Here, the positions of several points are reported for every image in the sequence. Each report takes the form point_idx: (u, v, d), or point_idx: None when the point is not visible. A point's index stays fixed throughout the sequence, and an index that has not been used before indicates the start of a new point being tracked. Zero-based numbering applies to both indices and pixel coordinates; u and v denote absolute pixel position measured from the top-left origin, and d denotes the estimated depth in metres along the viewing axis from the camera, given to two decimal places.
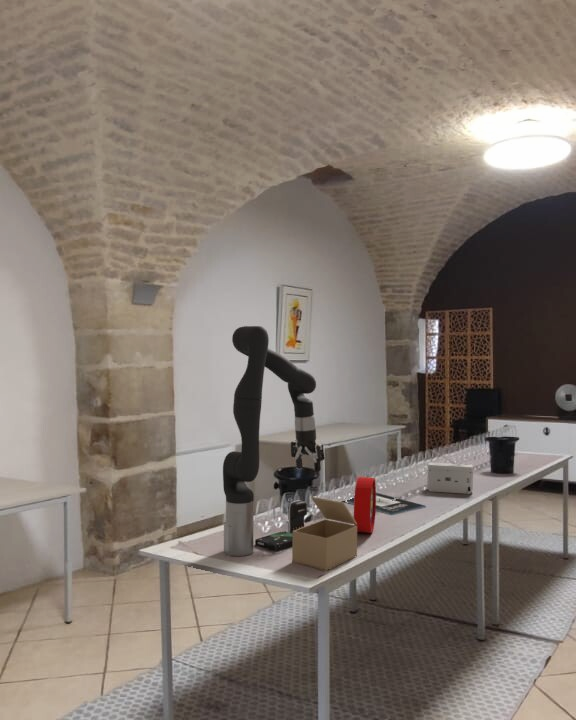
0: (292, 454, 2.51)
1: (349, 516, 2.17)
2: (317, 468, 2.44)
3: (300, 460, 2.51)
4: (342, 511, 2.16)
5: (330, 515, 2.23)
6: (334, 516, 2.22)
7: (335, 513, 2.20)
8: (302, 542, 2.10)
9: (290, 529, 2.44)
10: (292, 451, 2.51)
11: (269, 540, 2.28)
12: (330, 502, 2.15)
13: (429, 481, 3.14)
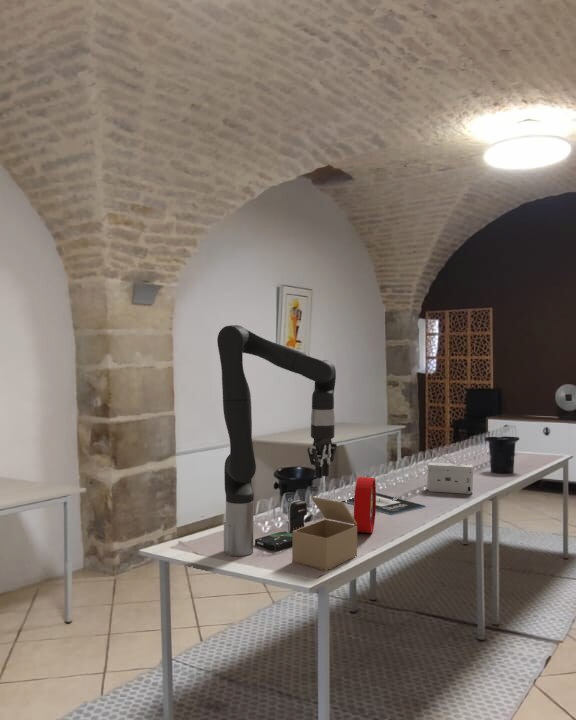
0: None
1: (349, 516, 2.17)
2: None
3: (325, 466, 2.14)
4: (342, 511, 2.16)
5: (330, 515, 2.23)
6: (334, 516, 2.22)
7: (335, 513, 2.20)
8: (302, 542, 2.10)
9: (290, 529, 2.44)
10: None
11: (269, 540, 2.28)
12: (330, 502, 2.15)
13: (429, 481, 3.14)
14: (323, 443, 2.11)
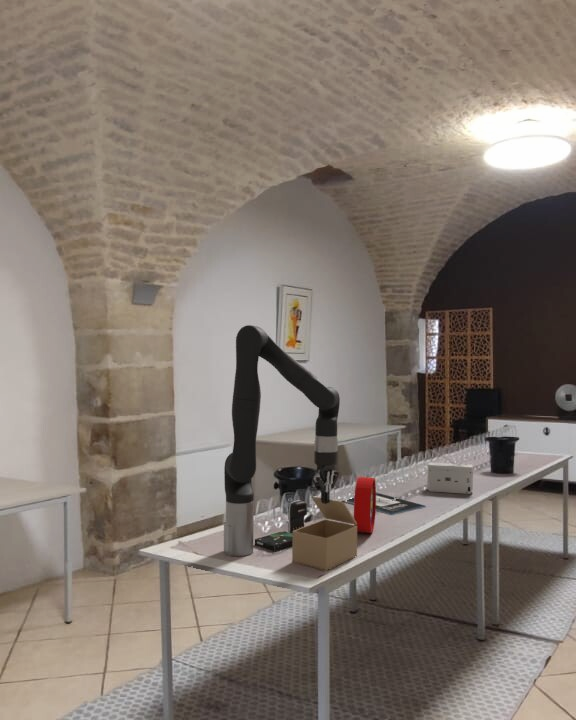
0: None
1: (349, 516, 2.17)
2: None
3: None
4: (342, 511, 2.16)
5: (330, 515, 2.23)
6: (334, 516, 2.22)
7: (335, 513, 2.20)
8: (302, 542, 2.10)
9: (290, 529, 2.44)
10: None
11: (268, 540, 2.28)
12: (330, 501, 2.15)
13: (429, 481, 3.14)
14: (326, 469, 2.13)
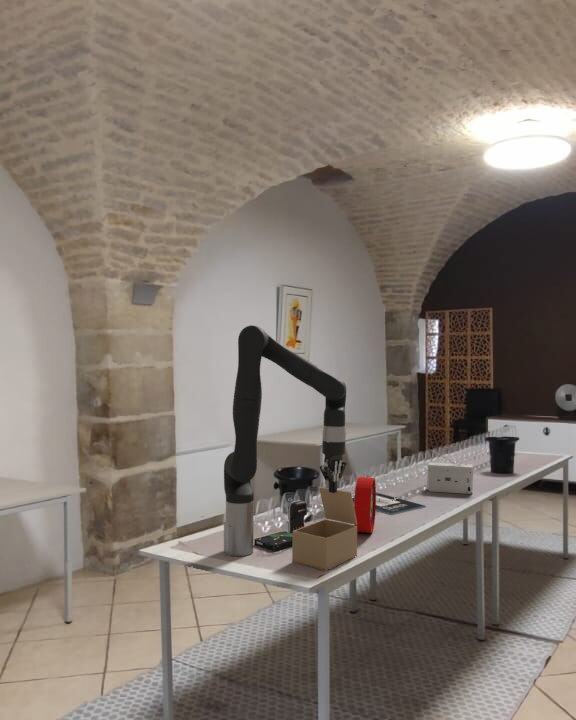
0: None
1: (352, 512, 2.18)
2: (329, 488, 2.18)
3: None
4: (346, 504, 2.18)
5: (332, 513, 2.23)
6: (336, 514, 2.23)
7: (338, 509, 2.21)
8: (302, 542, 2.10)
9: (290, 529, 2.44)
10: None
11: (268, 540, 2.28)
12: (337, 491, 2.18)
13: (429, 481, 3.14)
14: (334, 459, 2.16)
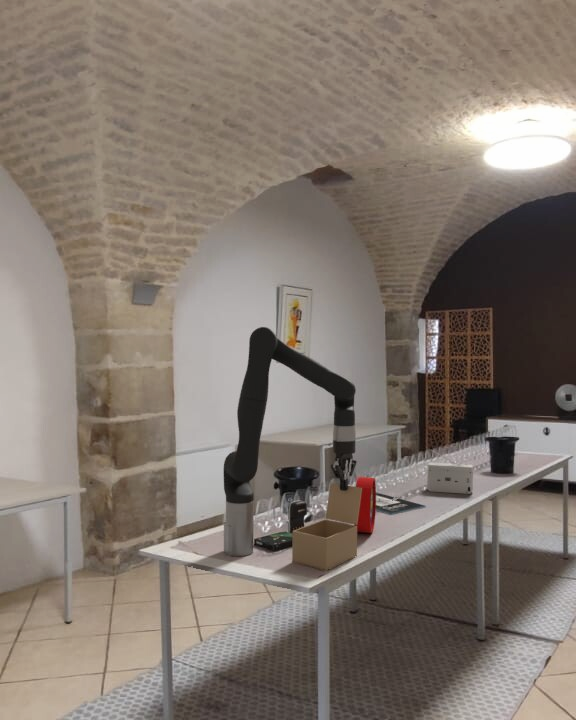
0: None
1: (356, 510, 2.20)
2: (340, 486, 2.23)
3: None
4: (353, 501, 2.21)
5: (335, 511, 2.25)
6: (338, 512, 2.24)
7: (342, 507, 2.23)
8: (302, 542, 2.10)
9: (290, 529, 2.44)
10: None
11: (268, 540, 2.28)
12: (348, 487, 2.24)
13: (429, 481, 3.14)
14: (344, 458, 2.21)
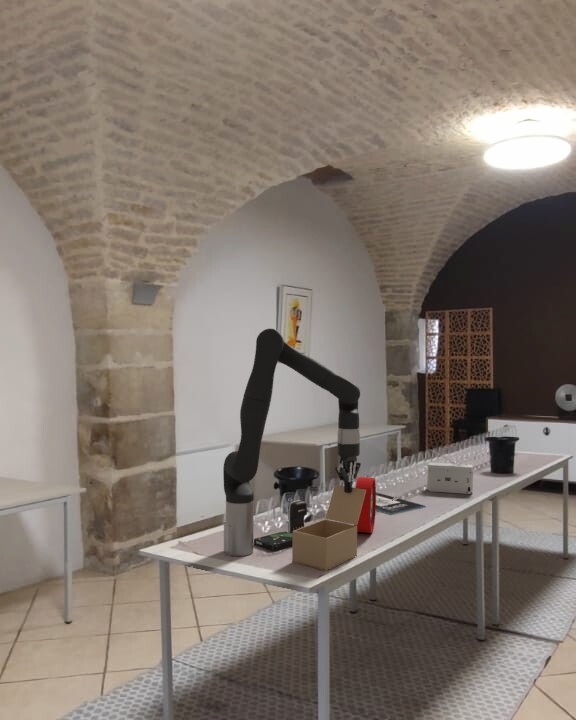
0: None
1: (358, 510, 2.21)
2: None
3: None
4: (355, 502, 2.23)
5: (336, 512, 2.25)
6: (339, 513, 2.24)
7: (344, 508, 2.24)
8: (302, 542, 2.10)
9: (290, 529, 2.44)
10: None
11: (267, 540, 2.29)
12: (352, 488, 2.26)
13: (429, 481, 3.14)
14: (349, 460, 2.24)
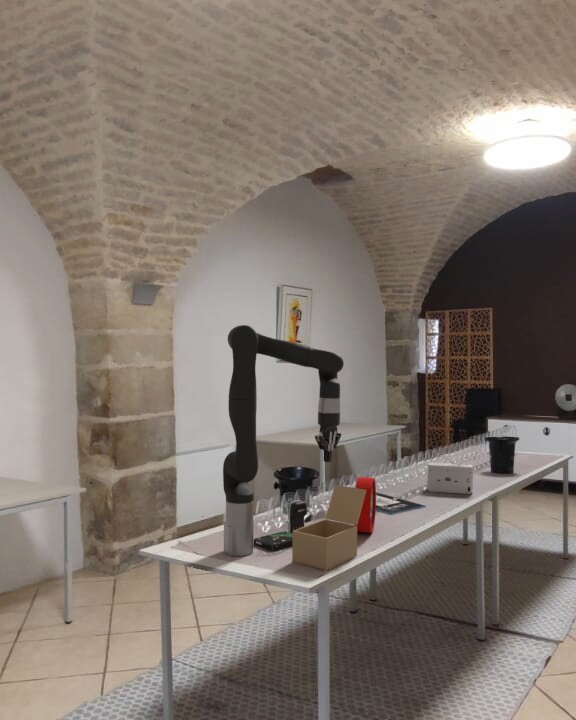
0: None
1: (358, 510, 2.21)
2: None
3: None
4: (355, 502, 2.23)
5: (336, 512, 2.25)
6: (339, 513, 2.24)
7: (344, 508, 2.24)
8: (302, 542, 2.10)
9: (290, 529, 2.44)
10: None
11: (267, 540, 2.29)
12: (352, 488, 2.26)
13: (429, 481, 3.14)
14: (329, 430, 2.26)
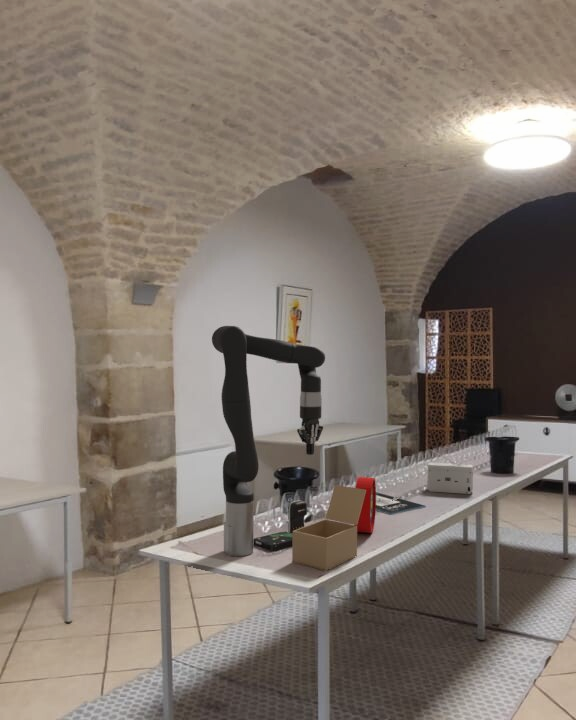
0: None
1: (358, 510, 2.21)
2: None
3: None
4: (355, 502, 2.23)
5: (336, 512, 2.25)
6: (339, 513, 2.24)
7: (344, 508, 2.24)
8: (302, 542, 2.10)
9: (290, 529, 2.44)
10: None
11: (267, 540, 2.29)
12: (352, 488, 2.26)
13: (429, 481, 3.14)
14: (310, 423, 2.30)
